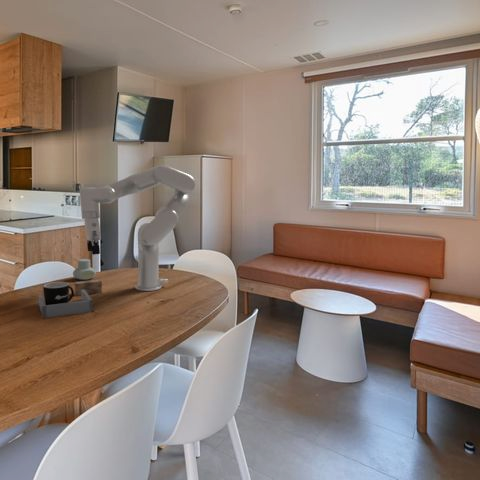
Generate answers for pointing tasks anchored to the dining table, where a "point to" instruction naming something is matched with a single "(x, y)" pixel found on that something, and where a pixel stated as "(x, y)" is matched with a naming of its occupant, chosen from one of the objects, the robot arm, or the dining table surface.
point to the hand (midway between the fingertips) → (93, 252)
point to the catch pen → (66, 306)
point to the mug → (57, 293)
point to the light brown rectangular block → (88, 287)
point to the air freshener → (84, 270)
